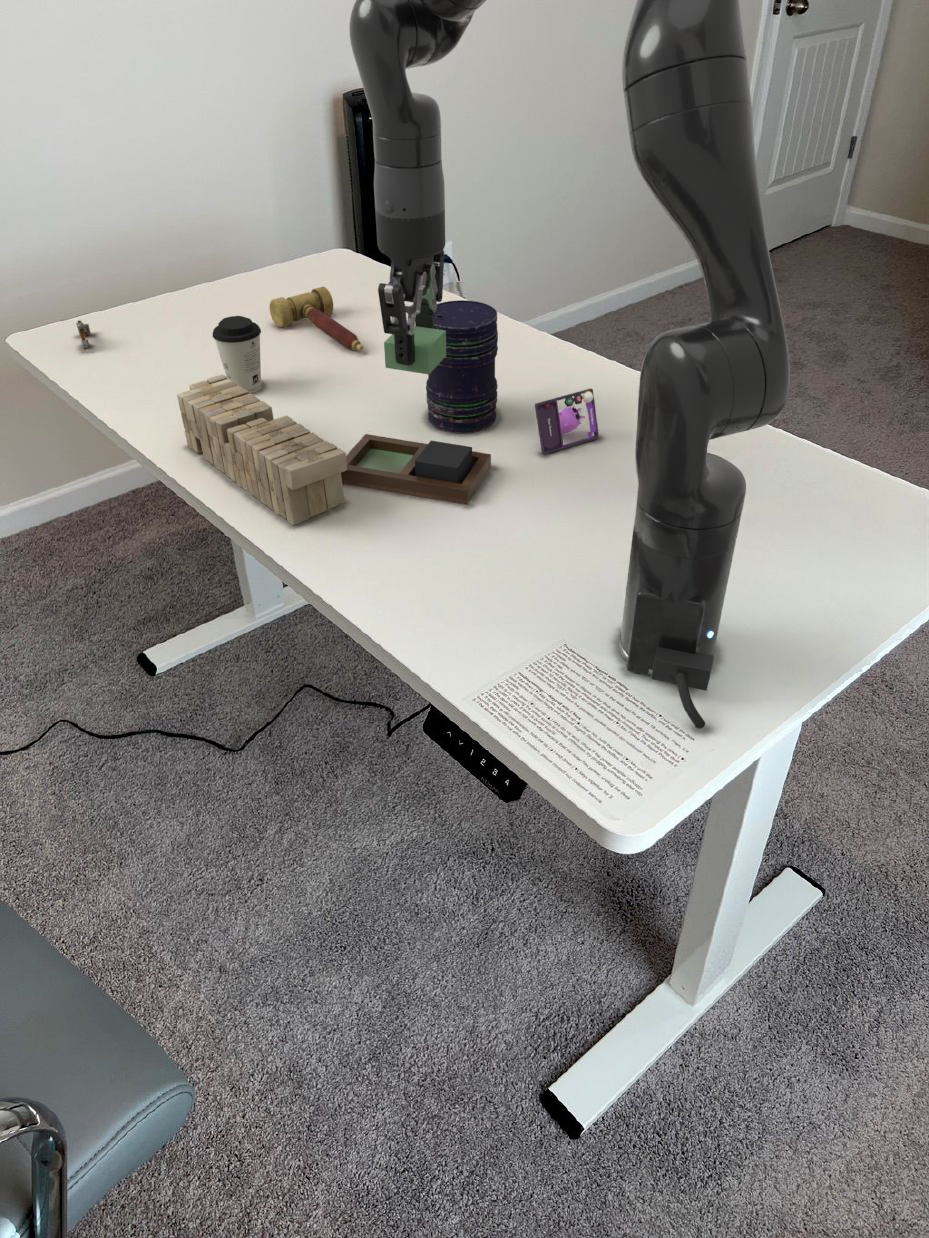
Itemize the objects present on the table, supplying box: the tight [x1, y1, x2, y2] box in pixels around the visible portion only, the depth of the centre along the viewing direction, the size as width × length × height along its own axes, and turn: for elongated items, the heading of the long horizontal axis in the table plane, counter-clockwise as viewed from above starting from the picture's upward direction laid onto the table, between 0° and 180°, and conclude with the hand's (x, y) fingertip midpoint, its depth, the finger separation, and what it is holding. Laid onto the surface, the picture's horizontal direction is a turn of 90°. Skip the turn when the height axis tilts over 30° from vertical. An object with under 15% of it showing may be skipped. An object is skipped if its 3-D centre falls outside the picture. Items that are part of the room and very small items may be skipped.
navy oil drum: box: [425, 299, 499, 435], centre depth 131 cm, size 10×10×15 cm
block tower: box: [176, 374, 347, 526], centre depth 122 cm, size 8×8×29 cm
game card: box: [534, 388, 600, 455], centre depth 129 cm, size 7×5×9 cm
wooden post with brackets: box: [75, 320, 92, 351], centre depth 156 cm, size 2×8×4 cm, turn 19°
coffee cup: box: [212, 315, 262, 394], centre depth 141 cm, size 7×7×10 cm
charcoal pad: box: [415, 440, 473, 484], centre depth 121 cm, size 6×6×3 cm
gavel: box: [269, 286, 364, 352], centre depth 158 cm, size 21×5×10 cm
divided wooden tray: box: [341, 433, 492, 506], centre depth 123 cm, size 9×18×2 cm, turn 71°
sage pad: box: [383, 326, 446, 375], centre depth 114 cm, size 6×6×3 cm
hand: (415, 352), depth 114 cm, fingers closed on sage pad, 5 cm apart
